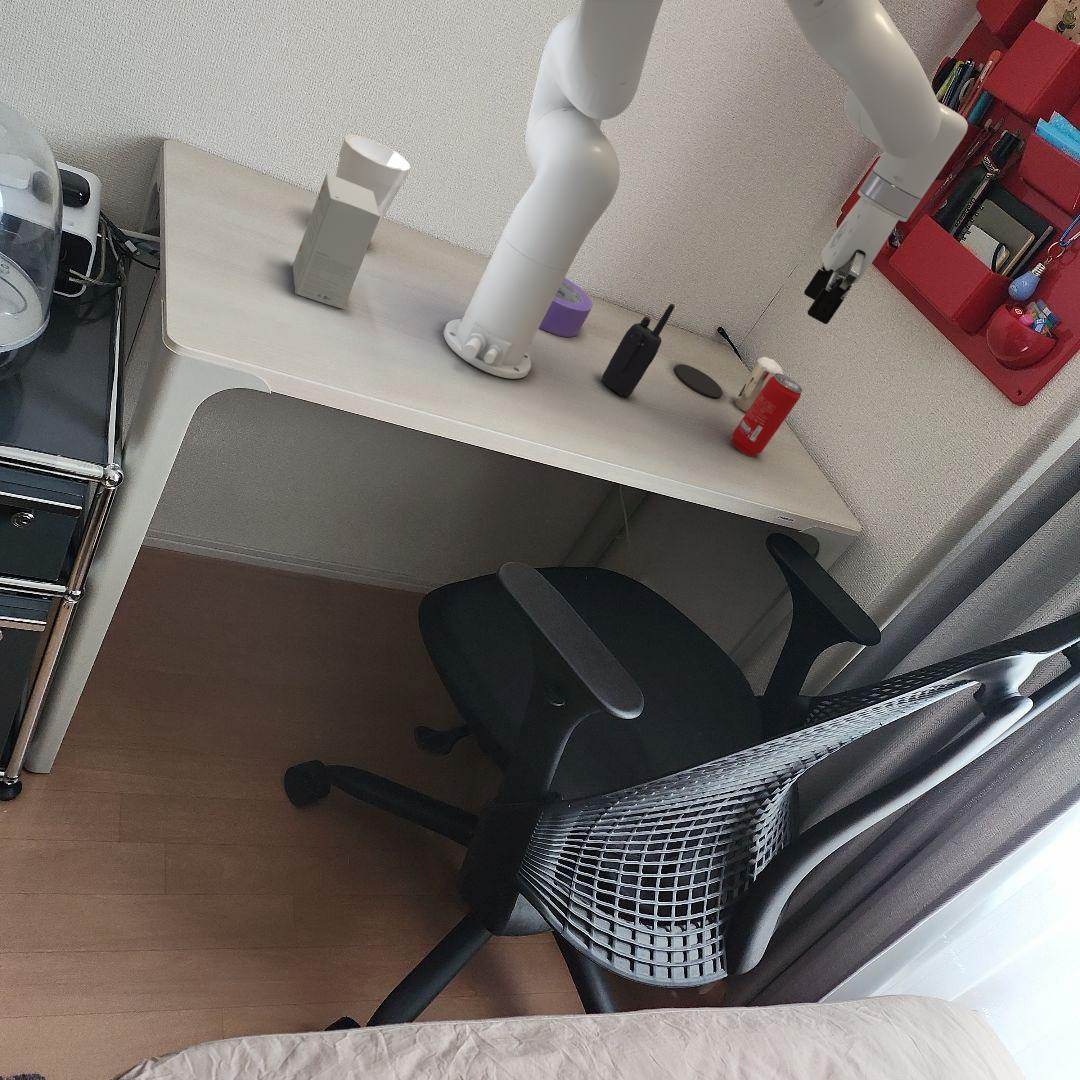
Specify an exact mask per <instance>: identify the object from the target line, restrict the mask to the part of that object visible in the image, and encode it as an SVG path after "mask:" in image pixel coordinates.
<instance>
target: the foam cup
mask: <svg viewBox="0 0 1080 1080" xmlns="http://www.w3.org/2000/svg"><path fill="white" fill-rule="evenodd" d="M338 156H339V158H338V159H339V160H338V164H337V169H336V173H335V176H336V177H338V178H341V179H343V180H346V181H348V182H351V183H353V184H356V185H358V186H361V187H363V188H366V189H368V190H371V191H373V192H374V195H375V199H376V203H377V206H378V210H379V214H380V219H379V221H378V223H377V226H376V228H375V231H374V233H373V236H374V234H375V233H376V231H377V230H378V228H379V226H380V224H381V222H382V221H383V219H384V217H385V215H386V213H387V211H388V210H389V208H390V206H391V204H392V203H393V201H394V200H395V197H396V196H397V194H398V192H399V191H400V189H401V187H402V186H403V185H405V182H406V180H407V177H408V175H409V172H410V170H411V166H410V163H409V162H408V160H406V158H405V157H404V156H403V155H401V154H400V153H398V152H397V151H395V150H394V149H392V148H391V147H389V146H387V145H385V144H383V143H381V142H379V141H377V140H374V139H372V138H369V137H367V136H364V135H357V134H348V135H345V136H344V139H343V142H342V145H341V147H340V150H339V155H338Z"/></svg>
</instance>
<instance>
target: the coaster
mask: <svg viewBox="0 0 1080 1080" xmlns="http://www.w3.org/2000/svg"><path fill="white" fill-rule="evenodd" d="M673 372H674V374H675V376H676V377H677V378H678V379H679V380H680V382H682V383H683V384H684V385H685V386H687V387H688V388H689V389H691V390H692V391H694V392H696V393H698V394H699V395H702V396H704V397H707V398H711V399H714V400H715V399H720V398H722V396H723V395H724V393H723V390H722V388H721V386H720V385H719V384H718V383H717V382H716V381H715V380H714V379H713V378H712V377H710V376H709V375H707V374H706V373H705V372H703V371H701V370H700V369H698V368H695V367H694V366H691V365H687V364H682V363H678V364H676V365H675V366H674V368H673Z"/></svg>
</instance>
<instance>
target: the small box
mask: <svg viewBox="0 0 1080 1080" xmlns="http://www.w3.org/2000/svg"><path fill="white" fill-rule="evenodd" d="M317 195H318V196H317V197H316V201H315V204H314V205H313V209H312V212H311V214H310V217H309V220H308V222H307V226H306V228H305V231H304V234H303V236H302V239H301V242H300V243H299V244H300V245H299V247H298V250H297V254H296V255H295V258H294V261H293V263H292V273H293V284H294V292H295V295H298V296H301V297H304V298H307V299H310V300H312V301H316V302H319V303H322V304H325V305H329V306H332V307H335V308H338V309H342V310H344V309H345V306H346V304H347V301H348V299H349V297H350V294H351V291H352V289H353V286H354V283H355V281H356V278H357V276H358V273H359V271H360V269H361V266H362V263H363V261H364V258H365V256H366V254H367V251H368V249H369V246H370V244H371V242H372V238H373V237H374V235H373V233H374V231H375V228H376V226H377V223H378V221H379V219H380V214H379V210H378V206H377V203H376V199H375V195H374V192H373V191H371V190H368V189H366V188H363V187H361V186H358V185H356V184H353V183H351V182H348V181H346V180H343V179H341V178H338V177H336V175H333V174H331V173H326V174H325V176H324V179H323V182H322V184H321V187H320V189H319V193H318V194H317ZM375 232H376V231H375ZM374 234H375V233H374Z"/></svg>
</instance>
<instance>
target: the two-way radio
mask: <svg viewBox="0 0 1080 1080" xmlns="http://www.w3.org/2000/svg"><path fill="white" fill-rule="evenodd" d="M675 307H676V305H675V304H674V303H669V305H668V306H667V308H666V309H665V311H664V312H663V314H662V316H661V317H660V319H659V321H658V322H657V324H656V325H655V327H654V328H653V330H652V329H651V328H649V325H650V323H651V318H650V317H649V316H644V317H643V318H642V320H641V321H640V322H638V323H633V324H632V325H631V326H630V327H629V328H628V330H626V332H625V334H624V336H623V337H622V339H621V341H620V342H619V344H618V346H617V348H616V350H615V351H614V354H612V357H611V359H609V360H610V361H609V362H608V365H607V366H606V369H605V370H604V372H603V373H602V377H601V380H602V381H603V383H604V384H605V385H606V386H607V387H609V388H610V389H611V390H612V391H614V392H615V393H617V394H618V395H619V396H621V397H630V396H631V395H632V394H633V392H634V390H635V389H636V387H637V386H638V385H639V383H640V381H641V380H642V378H643V377H644V375H645V374H646V372H647V370H648V368H649V366H650V365H651V364H652V363H653V361H654V359H655V357H656V355H657V353H658V352H659V349H660V346H661V344H662V338H661V336H660V334H661V333H662V331H663V329H664V327H665V326H666V324H667V322H668V320H669V319H670V316H671V315H672V313H673V311H674V309H675Z"/></svg>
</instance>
